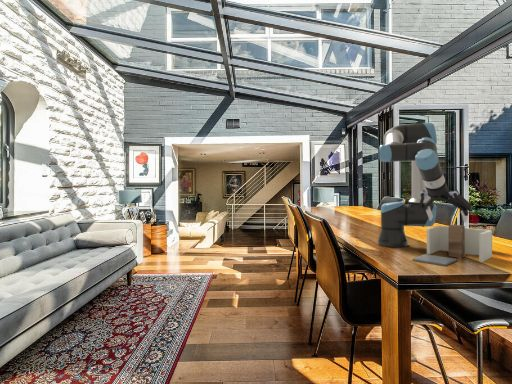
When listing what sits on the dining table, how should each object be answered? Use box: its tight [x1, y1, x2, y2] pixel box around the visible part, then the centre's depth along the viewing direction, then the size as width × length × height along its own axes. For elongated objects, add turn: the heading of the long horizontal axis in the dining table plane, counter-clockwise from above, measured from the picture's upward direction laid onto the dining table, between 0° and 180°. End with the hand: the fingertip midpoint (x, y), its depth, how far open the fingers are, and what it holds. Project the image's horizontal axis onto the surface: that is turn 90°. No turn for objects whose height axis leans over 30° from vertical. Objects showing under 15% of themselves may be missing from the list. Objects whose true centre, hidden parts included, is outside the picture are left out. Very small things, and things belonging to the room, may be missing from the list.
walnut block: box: [448, 224, 466, 259], centre depth 147 cm, size 5×5×14 cm
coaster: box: [411, 253, 457, 267], centre depth 140 cm, size 13×13×1 cm
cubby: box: [426, 225, 493, 263], centre depth 148 cm, size 14×22×12 cm, turn 40°
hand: (448, 219), depth 140 cm, fingers open, 13 cm apart
